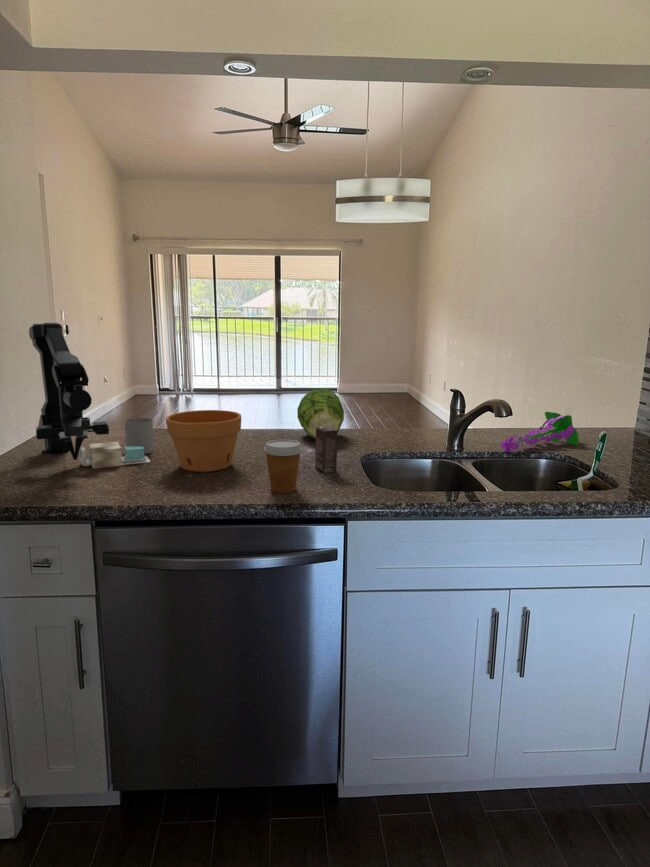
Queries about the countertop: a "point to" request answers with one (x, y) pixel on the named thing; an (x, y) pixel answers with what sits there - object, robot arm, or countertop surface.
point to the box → (326, 449)
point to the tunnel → (105, 454)
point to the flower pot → (204, 438)
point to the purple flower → (554, 421)
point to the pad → (137, 461)
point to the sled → (130, 455)
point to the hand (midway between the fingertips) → (75, 459)
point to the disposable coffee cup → (283, 464)
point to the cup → (140, 433)
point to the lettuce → (320, 411)
